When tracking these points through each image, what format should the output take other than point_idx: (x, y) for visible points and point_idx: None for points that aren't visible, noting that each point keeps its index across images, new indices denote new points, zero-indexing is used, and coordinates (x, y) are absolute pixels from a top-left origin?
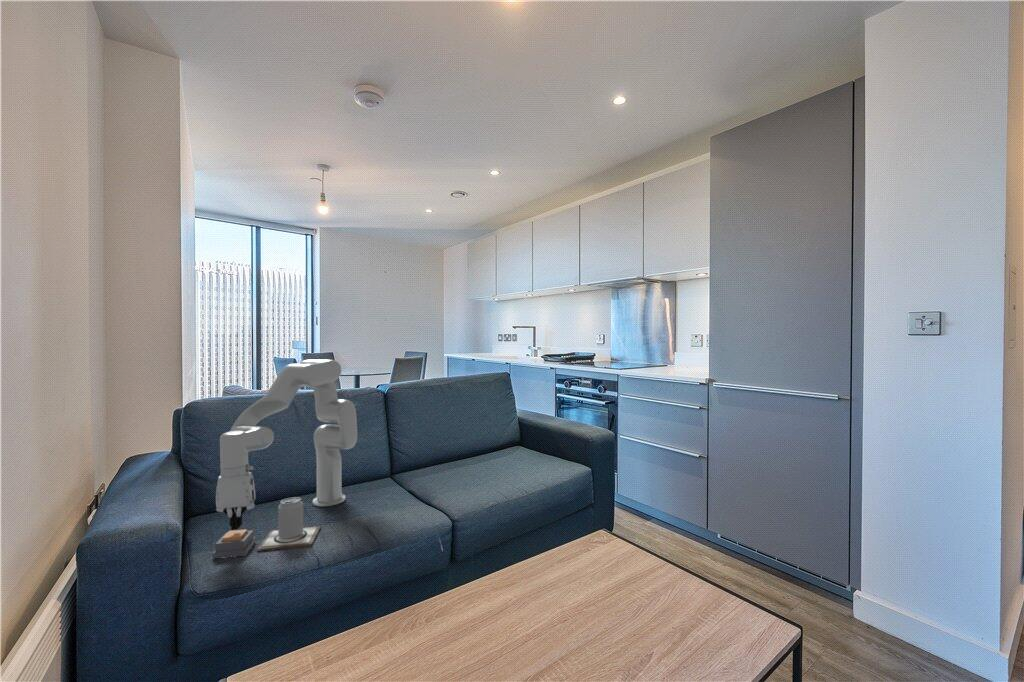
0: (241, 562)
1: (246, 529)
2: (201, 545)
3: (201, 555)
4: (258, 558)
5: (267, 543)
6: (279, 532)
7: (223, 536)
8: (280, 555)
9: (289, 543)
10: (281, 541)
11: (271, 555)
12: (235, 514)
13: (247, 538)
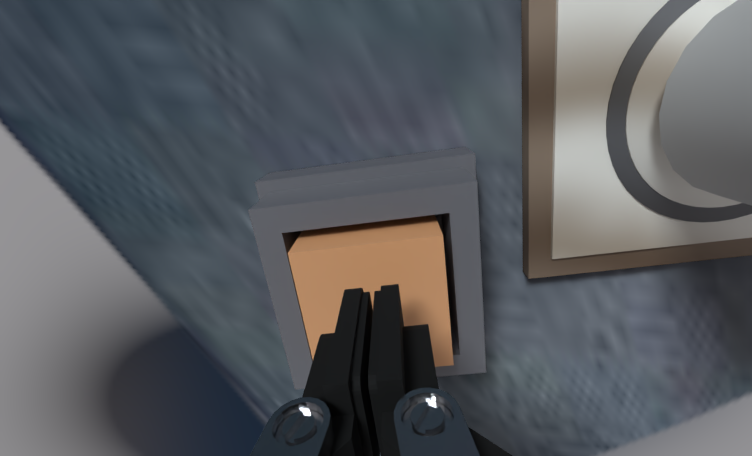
0: (482, 376)
1: (439, 238)
2: (95, 148)
3: (207, 284)
4: (559, 346)
5: (578, 214)
6: (704, 180)
7: (276, 283)
8: (678, 326)
9: (739, 229)
10: (680, 203)
11: (624, 321)
12: (354, 433)
13: (481, 308)
